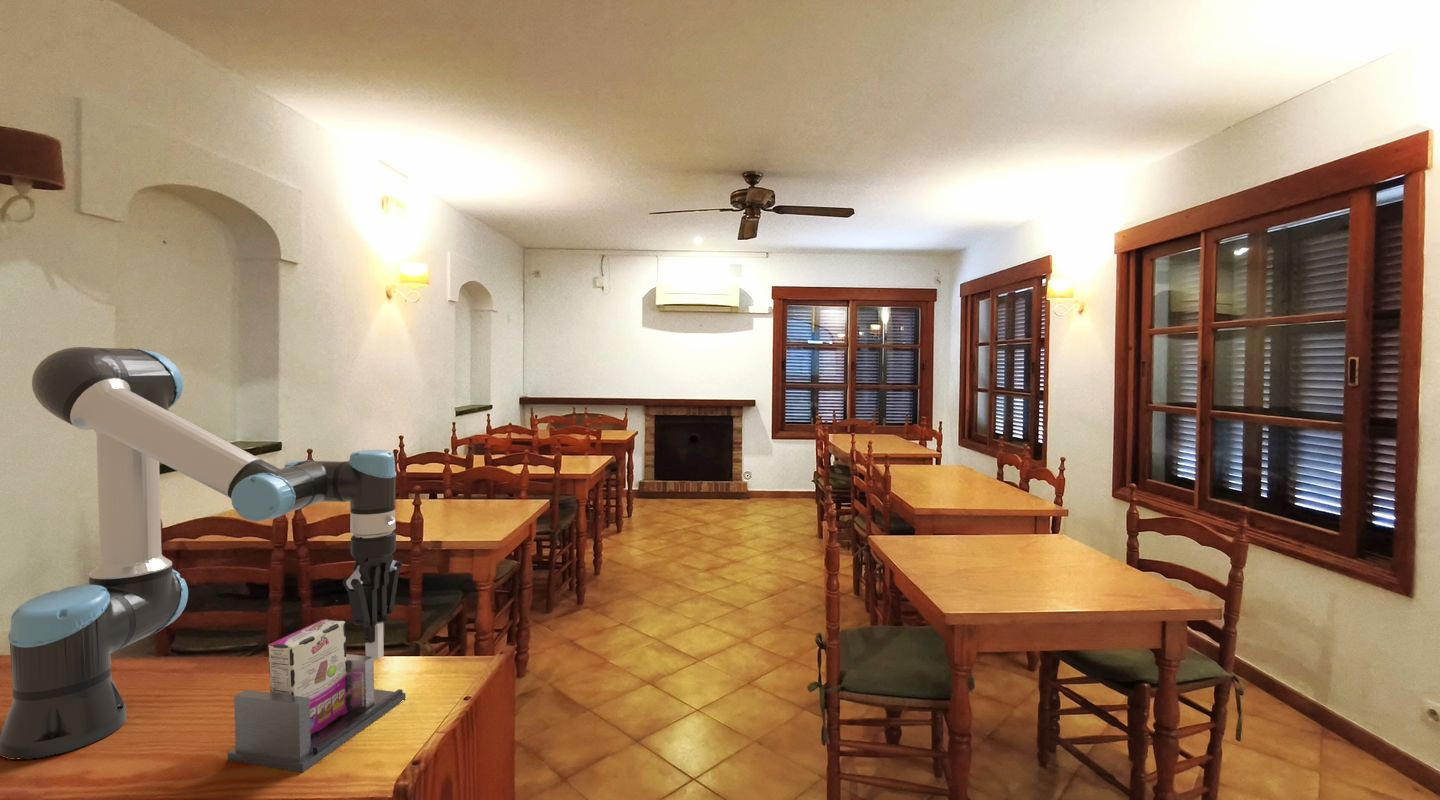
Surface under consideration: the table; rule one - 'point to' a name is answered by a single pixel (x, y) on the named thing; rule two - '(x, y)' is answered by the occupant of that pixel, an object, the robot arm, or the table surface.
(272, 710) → the vise
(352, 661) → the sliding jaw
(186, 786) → the table surface
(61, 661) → the robot arm
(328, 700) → the candy bar box
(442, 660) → the table surface
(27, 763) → the table surface
